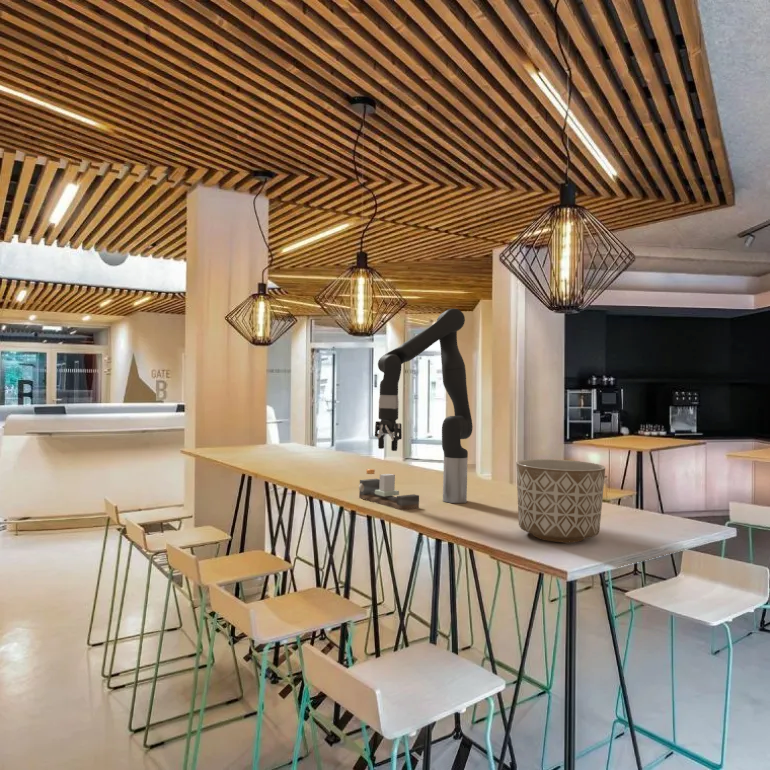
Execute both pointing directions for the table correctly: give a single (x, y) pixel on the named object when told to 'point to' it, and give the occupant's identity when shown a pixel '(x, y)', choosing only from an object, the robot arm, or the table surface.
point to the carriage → (387, 485)
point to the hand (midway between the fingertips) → (387, 449)
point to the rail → (398, 502)
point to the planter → (560, 498)
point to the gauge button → (370, 471)
